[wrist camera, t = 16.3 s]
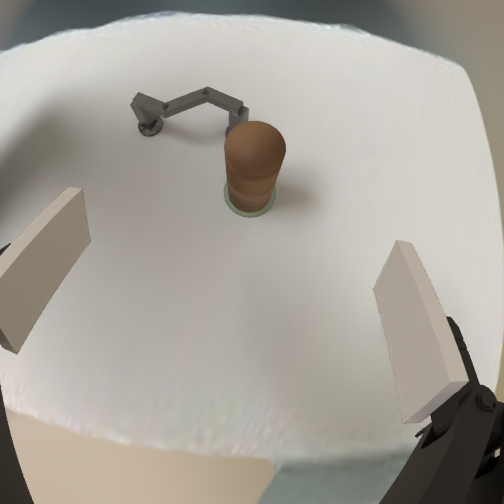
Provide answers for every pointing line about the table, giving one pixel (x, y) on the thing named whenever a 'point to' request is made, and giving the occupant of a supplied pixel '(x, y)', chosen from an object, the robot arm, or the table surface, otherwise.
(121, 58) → the table surface
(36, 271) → the robot arm
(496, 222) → the table surface
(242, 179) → the dowel
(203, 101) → the grey bent handle
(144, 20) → the table surface
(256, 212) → the pad
